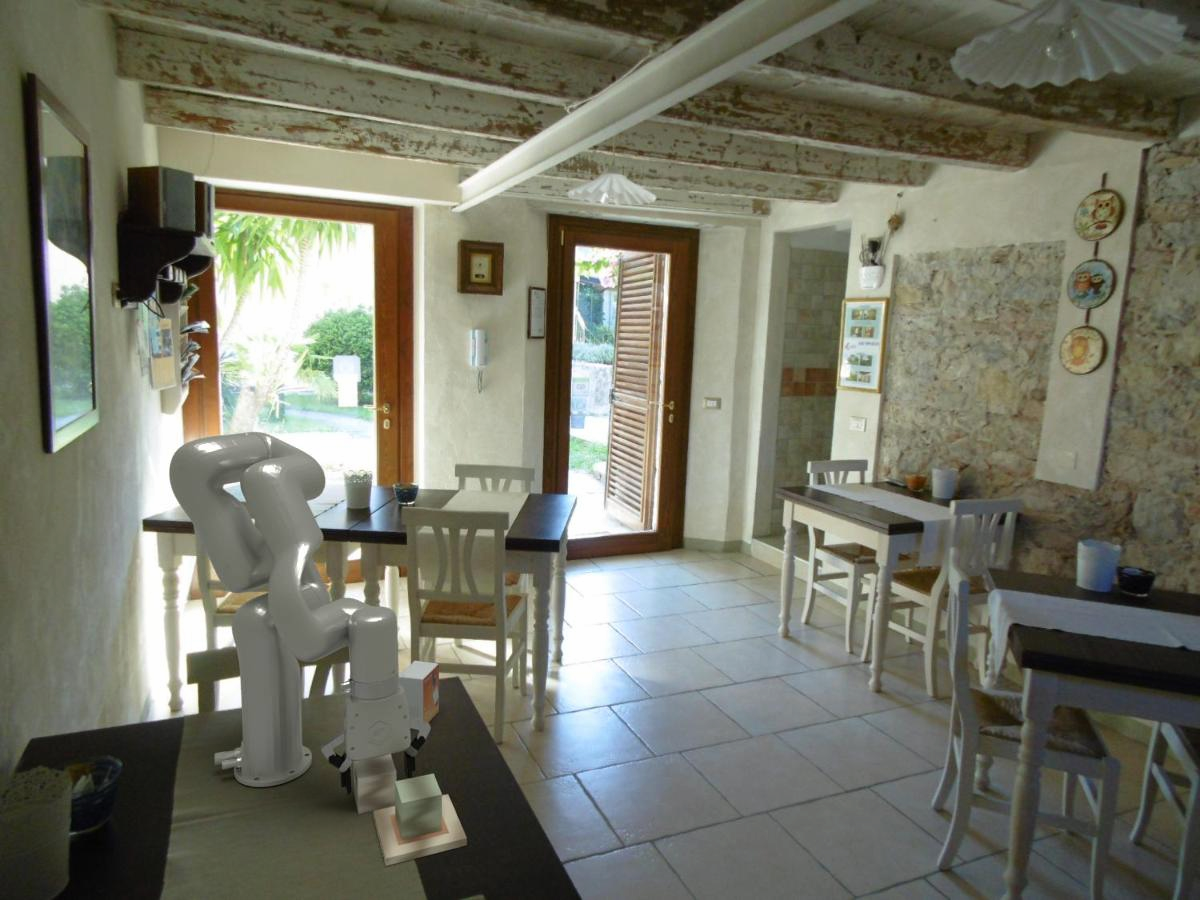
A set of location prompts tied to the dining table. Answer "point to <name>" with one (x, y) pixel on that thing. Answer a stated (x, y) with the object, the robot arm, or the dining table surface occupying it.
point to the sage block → (418, 806)
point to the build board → (420, 845)
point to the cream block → (374, 783)
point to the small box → (421, 689)
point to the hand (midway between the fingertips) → (378, 782)
